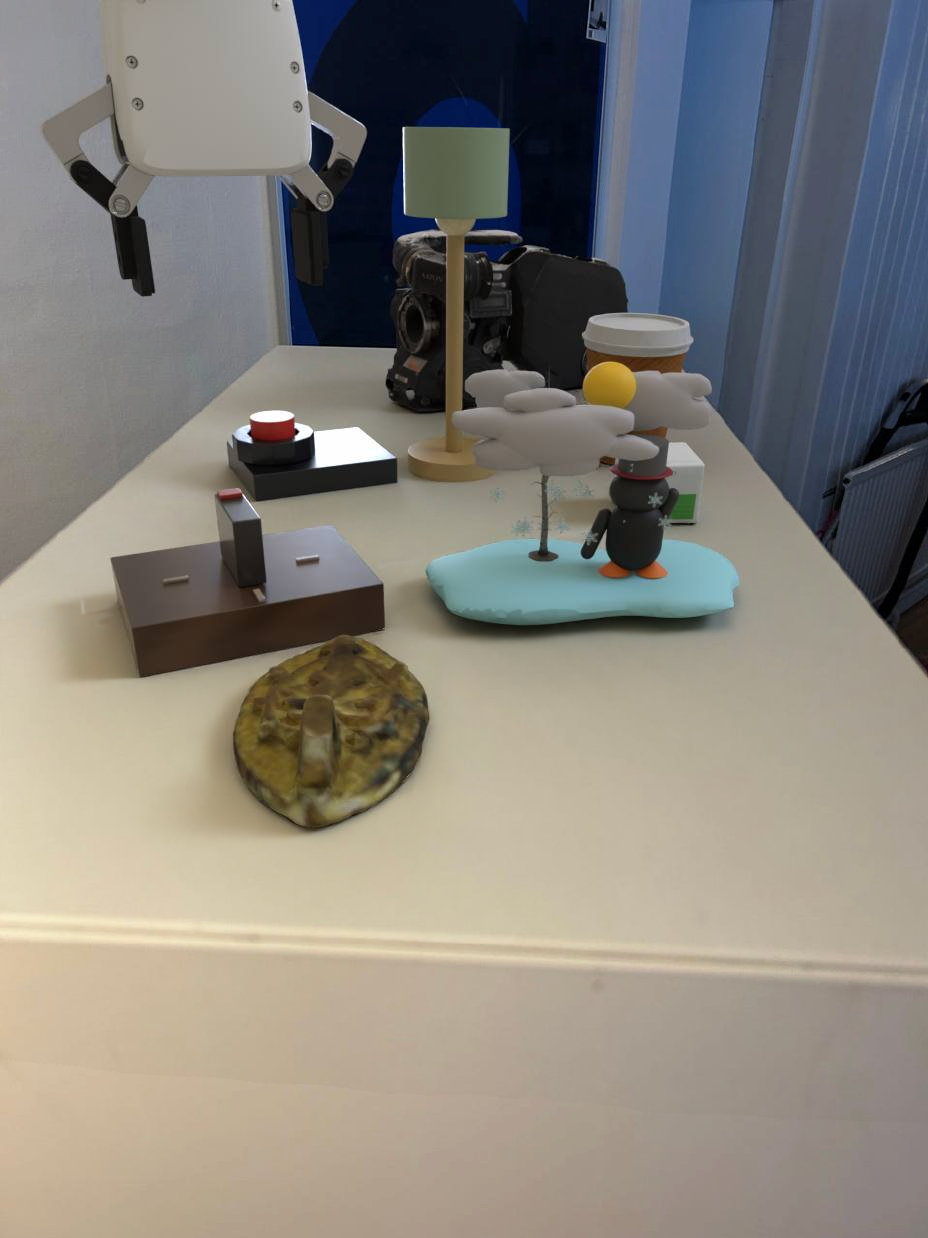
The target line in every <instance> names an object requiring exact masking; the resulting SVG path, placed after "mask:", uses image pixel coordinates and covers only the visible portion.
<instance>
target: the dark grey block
mask: <svg viewBox="0 0 928 1238" xmlns="http://www.w3.org/2000/svg"><path fill="white" fill-rule="evenodd" d="M214 503H215V504H214V505H215V512H216V521H217V530H218V531H217V532H218V537H219V538H218V539H219V541H220V548H221V555H222V557H223V559H224V561H225V562H226V564H227V566H228V568H229V569H230V571H231V573H232V575H233V577H234V578H235V580H236V582H237V584H238V586H239V587H246V586H252V585H258V584H264V583H266V582H267V580H266V569H265V558H264V547H263V537H262V535H263V528H262V526H263V525H262V519H261V517H260V516H259V514H258V512H257V511H256V510H255V509H254V507H253V506H252V504H251V503H250V502H249V500H248V499H247V498H246V496H245V494H244V493H243V492H242V490H241V489H240V488H239V487H233V488H226V489H218V490H216V493H215V494H214Z"/></svg>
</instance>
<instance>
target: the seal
mask: <svg viewBox="0 0 928 1238" xmlns="http://www.w3.org/2000/svg"><path fill="white" fill-rule="evenodd" d="M430 718H431V717H430V711H429V701H428V695H427V692H426V689H425V688H424V686H423V684H422V683H421V681H420V680H419V679H418V678H417V677H416V675H415V674H414V673H413V672H411V671H410V670H409V666H408V665H407V664H406V663H405V662H403V661H400V660H399V659H397V658H396V657H393V656H392V655H390V654H389V653H388V652H386V651H385V650H384V649H382V648H381V647H379V646H378V645H377V644H375V643H373V642H370V641H368V640H366V639H363V638H359V637H356V636H353V635H351V636H349V635H340V636H338V637H336V638H334V639H331V640H327V642H326V641H325V643H323V644H321V645H318V646H316V647H313V648H311V649H309V650H307V651H305V652H304V653H299V654H295V656H293V657H290V658H287V659H285V660H284V661H281V662H280V663H278V664H277V665H276V666H272V667H270V668H269V669H268V671H267V672H265V673H264V674H263V675H262V676H260V677H259V678H258V679H257V680H255V681H254V682H253V684H252V685H251V686H250V688H249V690H248V693H247V694H246V695H245V697H244V698H243V701H242V703H241V705H240V709H239V712H238V715H237V718H236V719H235V721H234V727H233V731H232V745H233V747H232V748H233V753H234V757H235V761H236V765H237V767H238V771H239V775H240V777H241V780H242V781H243V783H244V784H245V785H246V786H247V788H248V789H249V790H250V791H251V792H252V793H254V794H255V796H256V798H257V799H258V800H260V801H261V802H262V803H263V804H264V805H265V806H266V807H267V808H269V809H271V810H273V811H274V812H276V813H277V814H280V815H282V816H283V817H286V818H287V819H289V820H291V821H292V822H294V823H295V824H297V825H299V826H301V827H308V828H322V827H326V826H329V825H332V824H337V823H340V822H341V821H344V820H346V819H348V818H350V817H351V816H353V815H356V814H359V813H363V812H365V811H366V810H368V809H370V808H372V807H374V806H376V805H377V804H378V803H380V802H381V801H384V800H385V799H386V798H387V797H389V796H390V795H391V794H392V793H393V792H394V791H396V789H398V788H399V787H401V786H402V784H403V783H404V782H405V781H407V778H408V777H409V776H410V775H411V774H412V772H413V771H414V770H415V768H416V766H417V765H418V762H419V760H420V757H421V755H422V751H423V742H424V739H425V735H426V730H427V726H428V724H429V722H430ZM409 774H410V775H409ZM408 775H409V776H408ZM407 776H408V777H407Z"/></svg>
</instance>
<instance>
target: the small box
mask: <svg viewBox="0 0 928 1238" xmlns="http://www.w3.org/2000/svg"><path fill="white" fill-rule="evenodd" d="M618 462H619V459H617V458H616V459H615V464H618ZM666 466H667V467H669V468H670V469H672V470H673V474H672V475H671V476H669V477H666V478H665V479H666V481H667V483H668V485H669V489H670V488H676V489H677V490H678V492H679V498H678V501H677V502H676V504H675V506H674V508H673V510H672V512H671V514H670V516H669V518H668V520H667V521H668V522H669V523H670V524H690V523H695V524H697V523H698V520H699V512H700V506H701V505H700V503H701V497H702V490H703V483H704V475H705V468H706V464H705V463H704V462H703V461H702V459H701V458H700V457H699V456H698V455H697V454H696V453H695V452H694V451H693V450H692V448H691V447H690V446H689V445H688V443H687V442H684V441H683V442H682V441H681V442H680V441H679V442H677V441H676V442H674V441H673V442H672V441H671V442H669V447H668V455H667V464H666ZM615 476H616V475H615V474H613V478H614V477H615ZM671 519H672V521H671ZM669 520H670V521H669ZM668 522H667V523H668ZM669 523H668V524H669Z"/></svg>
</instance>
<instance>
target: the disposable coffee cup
mask: <svg viewBox="0 0 928 1238" xmlns="http://www.w3.org/2000/svg"><path fill="white" fill-rule="evenodd" d="M582 337H583V339H584V344H585V346H586V347H587V366H588V372H589V371H590V370H591V369H592V368H593V367H594V366H596V365H598V364H600V363H604V362H617V363H620V364H623V365H625V366H626V367H627V368H629V369H630V371H631V372H642V371H659V372H660V373H661V374H664V373H683V372H682V371H683V367H684V363H685V359H686V356H687V352H689V350H690V346H691V345H692V344H693V343H694V337H693V336H692V335H691V327H690V323H689V321H687V320H685V319H683V318H679V317H677V316H670V315H665V314H655V313H643V312H641V313H640V312H628V313H611V314H602V315H596V316H593V317H591V318H589V321H588V324H587V328H586V331H585V332H583V333H582ZM661 374H660V375H661ZM588 405H590V404H589V403H588ZM668 429H669V428H666V427H662V426H660V427H658V428H655V429H651V430H642V431H630V432H628V433H625V434H626V435H631V434H649V435H655V436H660V437H663V438H665V439H666V437H667V433H668ZM615 459H616V458H611V457H607V456H603V457H601V458H600V462H601V463H604V464H608V465H611V466H613V465H615Z"/></svg>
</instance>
